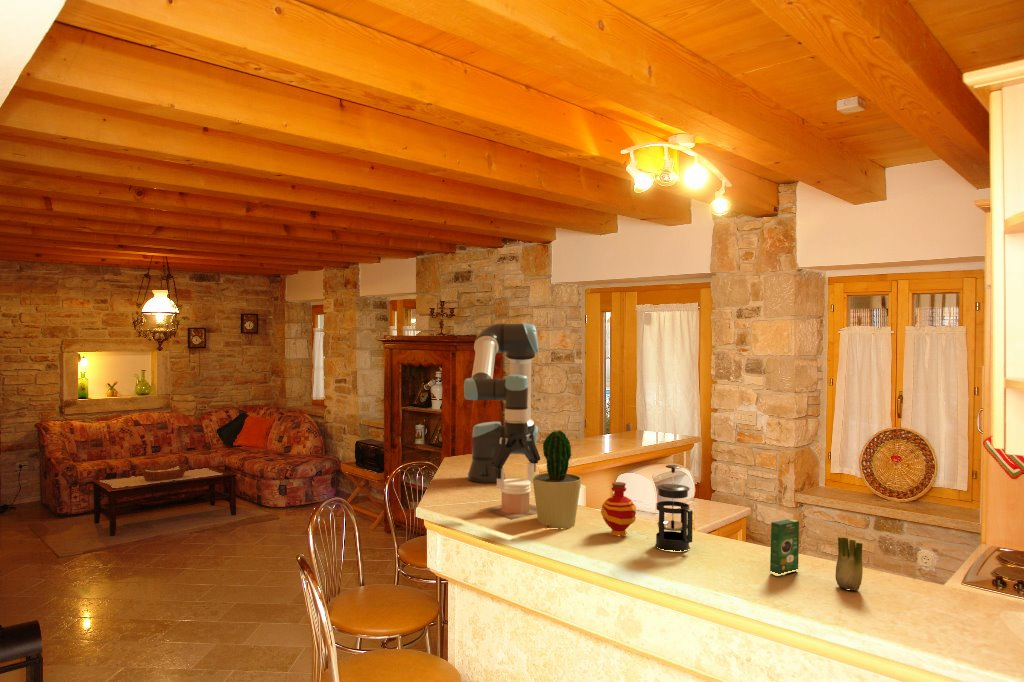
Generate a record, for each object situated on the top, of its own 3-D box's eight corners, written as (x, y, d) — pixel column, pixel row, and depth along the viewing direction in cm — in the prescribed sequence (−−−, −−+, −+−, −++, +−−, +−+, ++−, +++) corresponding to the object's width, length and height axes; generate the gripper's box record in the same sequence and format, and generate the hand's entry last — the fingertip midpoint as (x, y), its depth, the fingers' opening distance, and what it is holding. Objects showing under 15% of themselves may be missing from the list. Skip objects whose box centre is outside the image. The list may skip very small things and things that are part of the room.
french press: (646, 545, 192) (647, 463, 192) (669, 540, 197) (670, 460, 197) (678, 556, 182) (679, 470, 182) (701, 550, 187) (702, 467, 187)
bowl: (516, 505, 232) (516, 487, 232) (534, 510, 225) (535, 492, 225) (496, 509, 226) (496, 491, 226) (514, 514, 219) (514, 496, 219)
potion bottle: (614, 526, 210) (615, 478, 210) (642, 533, 203) (643, 483, 203) (593, 533, 203) (594, 483, 203) (621, 541, 196) (622, 489, 196)
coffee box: (789, 568, 173) (790, 517, 173) (799, 572, 171) (800, 519, 171) (769, 574, 169) (769, 521, 169) (779, 577, 167) (779, 524, 166)
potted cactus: (565, 515, 223) (566, 424, 223) (590, 527, 209) (591, 430, 209) (523, 521, 216) (524, 426, 216) (546, 533, 202) (547, 433, 202)
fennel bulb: (865, 593, 157) (866, 541, 157) (845, 594, 156) (845, 542, 156) (850, 584, 162) (851, 534, 162) (831, 585, 162) (831, 534, 162)
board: (519, 504, 237) (519, 501, 237) (551, 513, 225) (551, 510, 225) (479, 513, 225) (479, 509, 225) (511, 523, 213) (511, 519, 213)
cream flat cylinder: (527, 488, 231) (527, 477, 231) (533, 494, 221) (533, 483, 221) (498, 488, 229) (498, 478, 229) (503, 495, 220) (503, 484, 220)
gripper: (535, 417, 236) (535, 478, 237) (479, 423, 220) (479, 488, 220) (550, 419, 231) (550, 481, 231) (494, 426, 214) (494, 493, 215)
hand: (515, 485), depth 226 cm, fingers open, 13 cm apart
